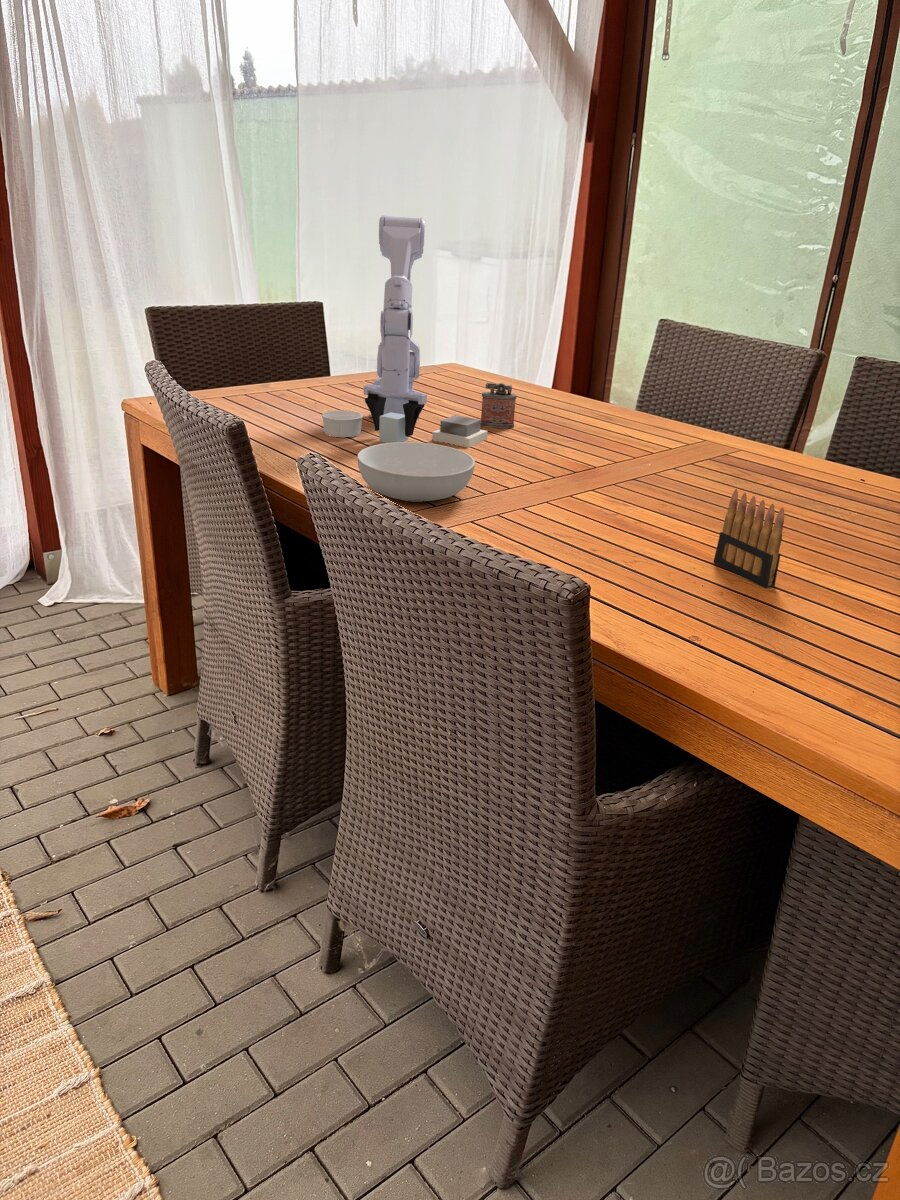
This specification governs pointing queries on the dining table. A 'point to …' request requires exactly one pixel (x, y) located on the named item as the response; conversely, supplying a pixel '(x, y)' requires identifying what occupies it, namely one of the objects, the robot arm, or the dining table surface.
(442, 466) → the serving bowl
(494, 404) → the lighter
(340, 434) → the ramekin
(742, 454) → the dining table surface
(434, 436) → the base slab
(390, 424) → the gray block
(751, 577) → the ammunition clip
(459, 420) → the gray slab
